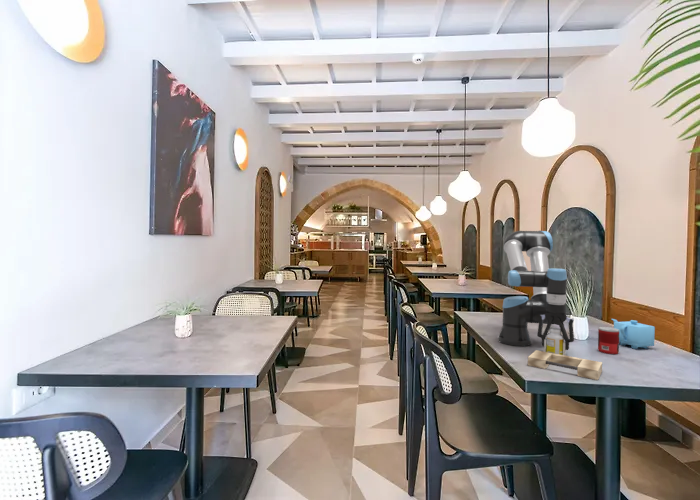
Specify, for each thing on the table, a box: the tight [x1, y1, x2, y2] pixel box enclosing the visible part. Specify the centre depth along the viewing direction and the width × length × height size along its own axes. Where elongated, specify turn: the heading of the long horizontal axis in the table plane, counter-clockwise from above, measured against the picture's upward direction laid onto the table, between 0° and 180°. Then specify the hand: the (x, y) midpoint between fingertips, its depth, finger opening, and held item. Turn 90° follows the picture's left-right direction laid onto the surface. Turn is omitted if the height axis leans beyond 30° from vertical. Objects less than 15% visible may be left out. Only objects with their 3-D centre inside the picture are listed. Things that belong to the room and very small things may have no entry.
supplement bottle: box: [546, 326, 565, 355], centre depth 160 cm, size 7×7×13 cm
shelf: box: [527, 349, 603, 381], centre depth 146 cm, size 24×13×4 cm, turn 49°
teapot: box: [611, 318, 656, 350], centre depth 183 cm, size 18×16×13 cm
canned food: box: [597, 326, 620, 355], centre depth 170 cm, size 8×8×11 cm
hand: (554, 355), depth 160 cm, fingers closed on supplement bottle, 7 cm apart
